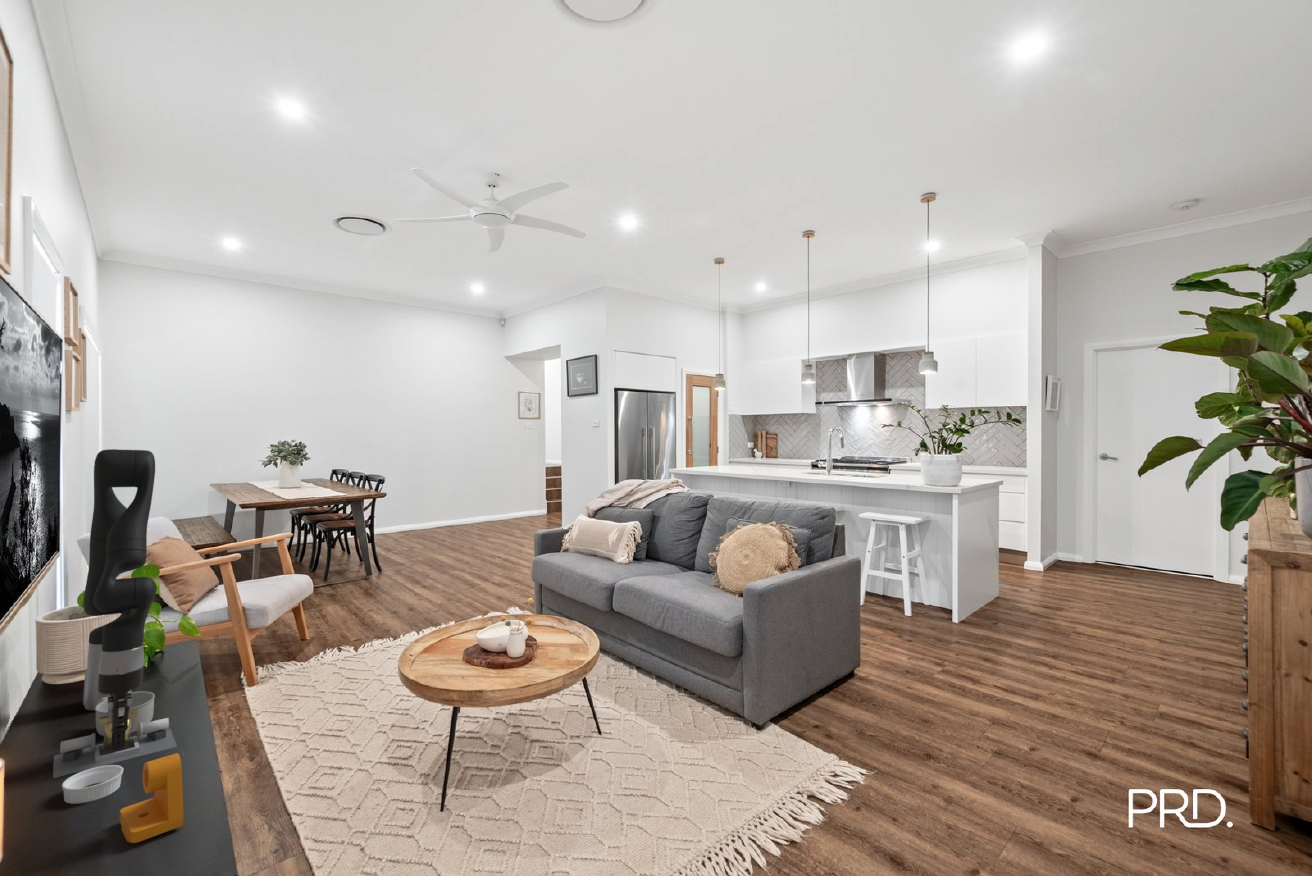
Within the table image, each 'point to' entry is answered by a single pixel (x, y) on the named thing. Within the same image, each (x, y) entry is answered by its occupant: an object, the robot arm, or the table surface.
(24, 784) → the table surface
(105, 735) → the gold knob
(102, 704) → the teacup
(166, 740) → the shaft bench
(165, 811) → the bracket
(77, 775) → the ramekin
